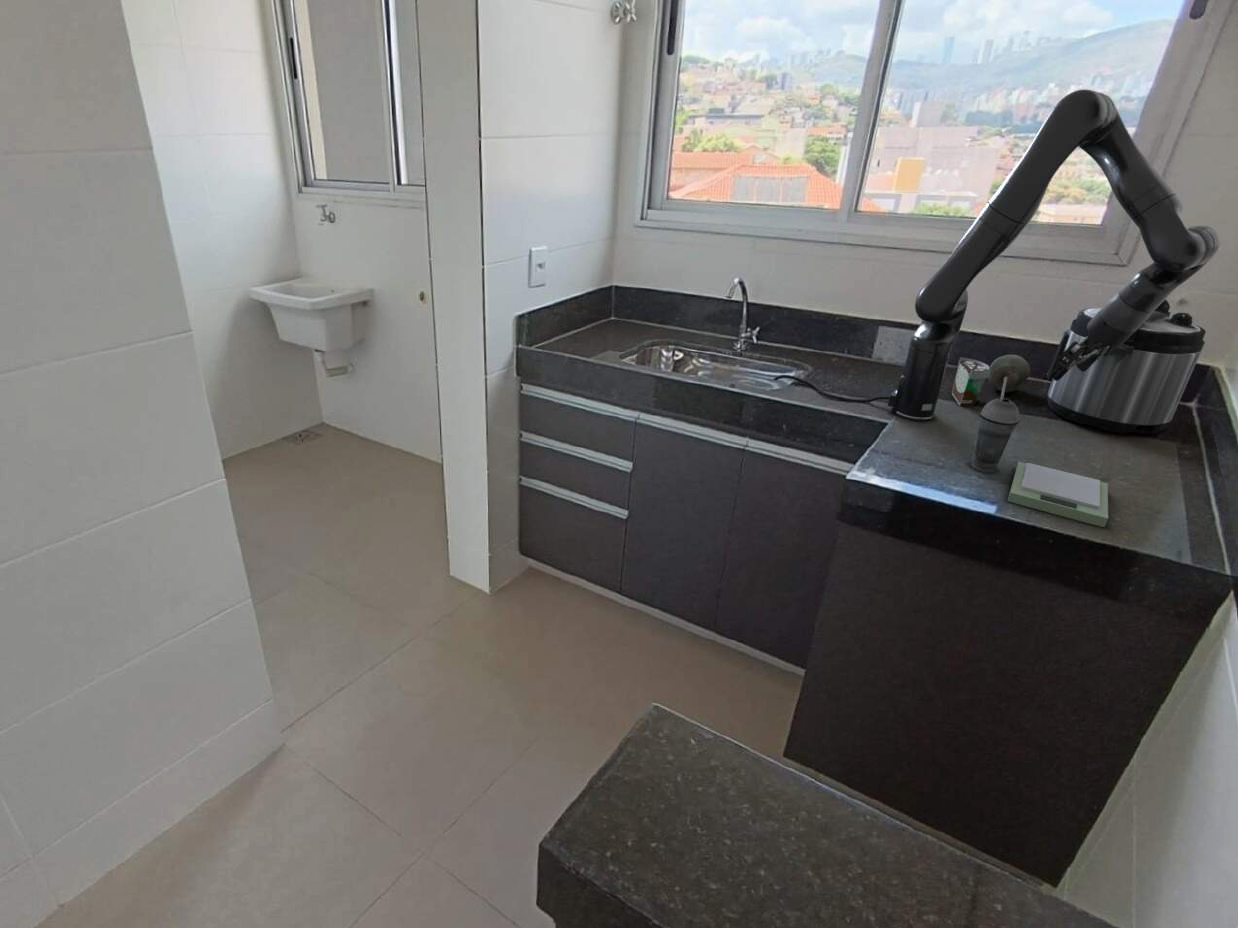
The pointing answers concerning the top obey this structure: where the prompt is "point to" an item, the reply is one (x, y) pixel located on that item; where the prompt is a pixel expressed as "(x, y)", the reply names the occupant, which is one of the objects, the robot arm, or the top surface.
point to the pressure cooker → (1129, 374)
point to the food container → (969, 381)
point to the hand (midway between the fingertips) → (1066, 373)
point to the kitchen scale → (1060, 493)
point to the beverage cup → (994, 432)
